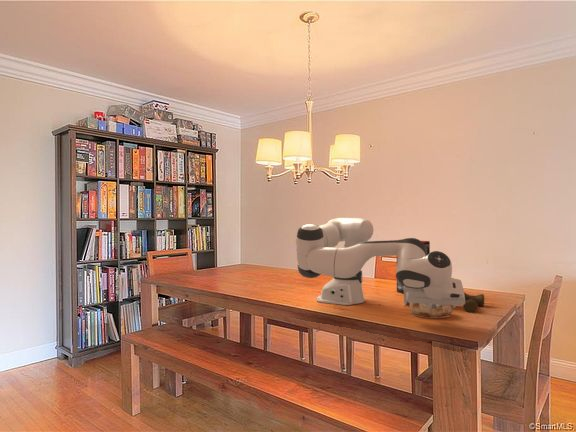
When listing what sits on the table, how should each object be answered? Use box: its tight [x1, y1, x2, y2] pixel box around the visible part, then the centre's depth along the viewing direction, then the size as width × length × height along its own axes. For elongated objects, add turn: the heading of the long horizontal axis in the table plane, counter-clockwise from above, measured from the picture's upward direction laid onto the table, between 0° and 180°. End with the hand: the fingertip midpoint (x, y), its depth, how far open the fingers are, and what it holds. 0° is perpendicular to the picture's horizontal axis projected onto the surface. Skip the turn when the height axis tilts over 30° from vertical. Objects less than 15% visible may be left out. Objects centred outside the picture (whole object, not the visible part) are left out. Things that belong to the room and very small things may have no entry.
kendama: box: [463, 292, 485, 313], centre depth 160 cm, size 6×10×20 cm
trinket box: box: [409, 303, 454, 319], centre depth 149 cm, size 13×15×8 cm
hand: (433, 307), depth 142 cm, fingers closed
